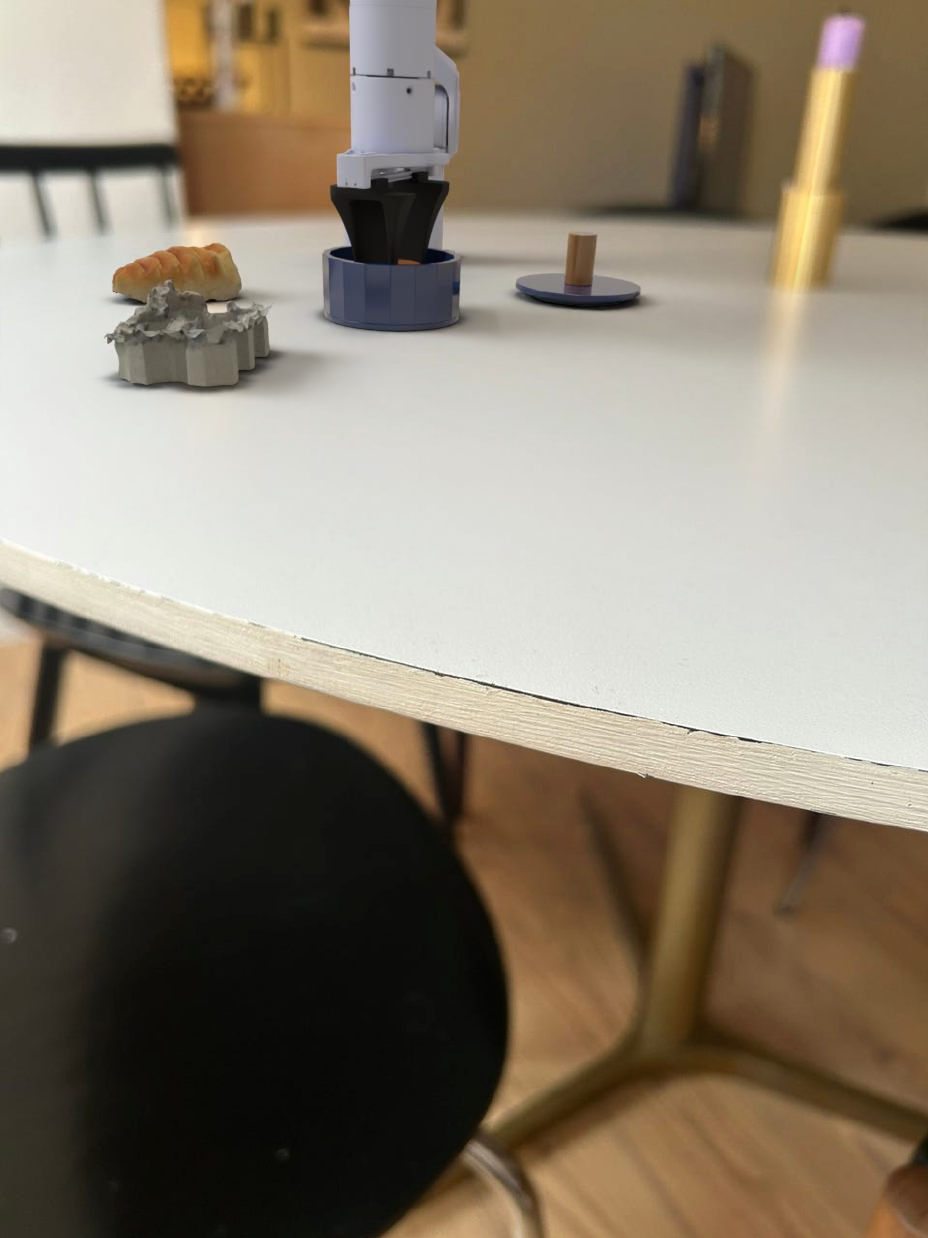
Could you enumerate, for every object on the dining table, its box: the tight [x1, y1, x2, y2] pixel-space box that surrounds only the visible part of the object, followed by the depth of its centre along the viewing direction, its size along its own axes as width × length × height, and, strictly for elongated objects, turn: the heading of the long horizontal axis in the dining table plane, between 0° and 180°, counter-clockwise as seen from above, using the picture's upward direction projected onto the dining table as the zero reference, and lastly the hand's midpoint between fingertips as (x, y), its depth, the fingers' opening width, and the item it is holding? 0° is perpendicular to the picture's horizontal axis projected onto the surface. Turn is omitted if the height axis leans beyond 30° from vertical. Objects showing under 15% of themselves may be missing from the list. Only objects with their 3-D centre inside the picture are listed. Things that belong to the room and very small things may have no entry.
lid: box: [515, 231, 642, 307], centre depth 81 cm, size 11×11×5 cm
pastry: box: [111, 242, 243, 304], centre depth 74 cm, size 9×7×4 cm
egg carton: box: [103, 279, 273, 387], centre depth 56 cm, size 11×8×4 cm
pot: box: [321, 245, 462, 332], centre depth 71 cm, size 10×10×4 cm
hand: (392, 288), depth 71 cm, fingers closed on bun, 5 cm apart
